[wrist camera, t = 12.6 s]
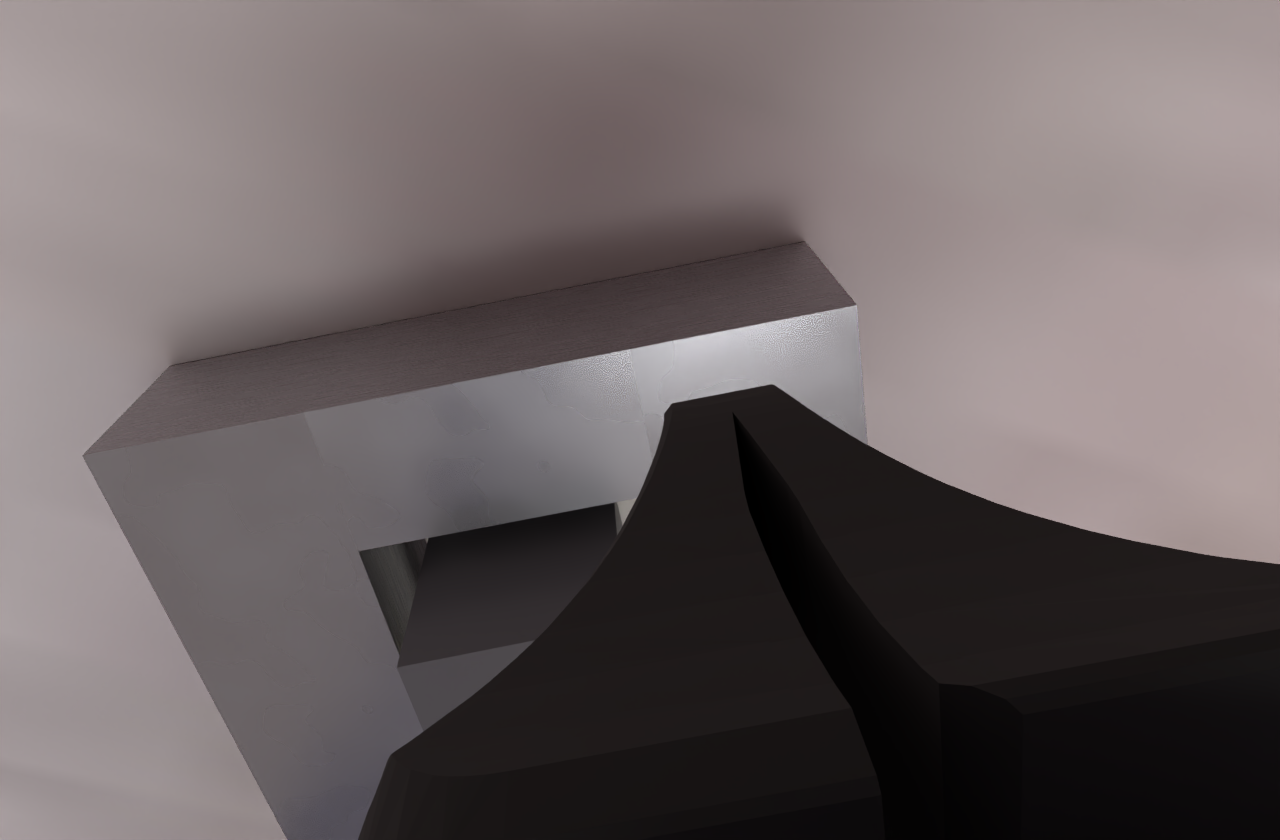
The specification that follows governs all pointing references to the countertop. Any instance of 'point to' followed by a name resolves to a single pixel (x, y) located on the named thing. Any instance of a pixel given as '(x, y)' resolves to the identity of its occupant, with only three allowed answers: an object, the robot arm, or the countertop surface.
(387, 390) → the socket plate
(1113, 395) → the countertop surface
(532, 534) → the plug
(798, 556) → the robot arm
